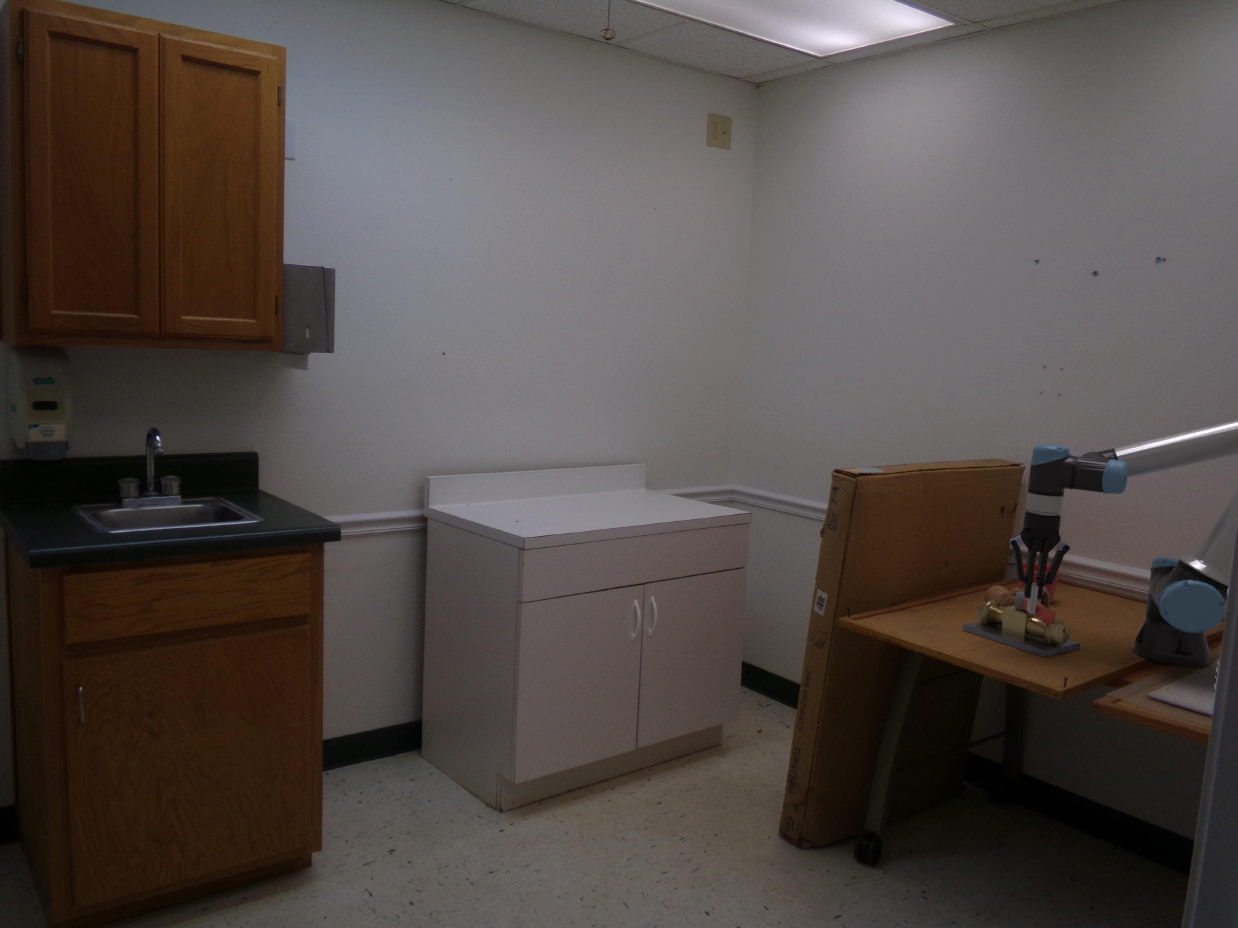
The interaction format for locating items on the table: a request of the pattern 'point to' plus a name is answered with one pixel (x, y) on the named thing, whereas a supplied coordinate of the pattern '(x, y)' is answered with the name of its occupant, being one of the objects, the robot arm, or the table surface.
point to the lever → (1040, 612)
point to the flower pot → (1049, 587)
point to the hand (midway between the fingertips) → (1030, 611)
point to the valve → (1021, 630)
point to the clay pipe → (1012, 596)
